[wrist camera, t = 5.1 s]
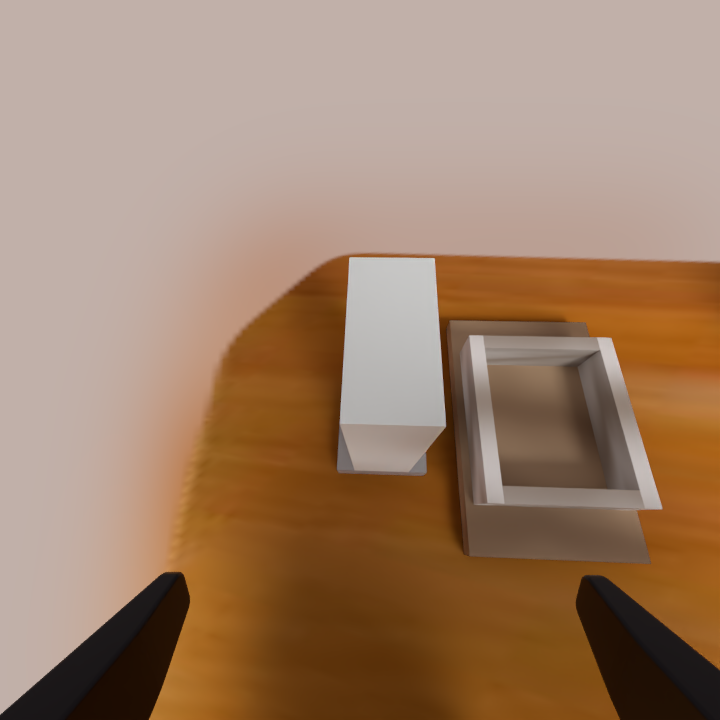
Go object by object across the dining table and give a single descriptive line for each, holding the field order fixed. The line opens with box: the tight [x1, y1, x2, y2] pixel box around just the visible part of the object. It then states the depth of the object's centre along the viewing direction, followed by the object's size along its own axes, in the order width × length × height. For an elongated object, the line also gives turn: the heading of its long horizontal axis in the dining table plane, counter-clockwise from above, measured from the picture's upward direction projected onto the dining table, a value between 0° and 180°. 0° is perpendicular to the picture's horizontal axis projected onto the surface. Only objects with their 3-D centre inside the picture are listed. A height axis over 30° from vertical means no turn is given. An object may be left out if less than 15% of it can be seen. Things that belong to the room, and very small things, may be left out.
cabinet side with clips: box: [446, 320, 662, 564], centre depth 20 cm, size 14×9×4 cm, turn 178°
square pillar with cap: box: [337, 257, 446, 476], centre depth 17 cm, size 7×5×12 cm
